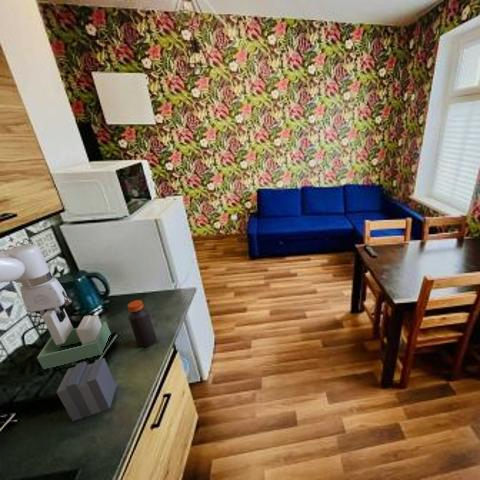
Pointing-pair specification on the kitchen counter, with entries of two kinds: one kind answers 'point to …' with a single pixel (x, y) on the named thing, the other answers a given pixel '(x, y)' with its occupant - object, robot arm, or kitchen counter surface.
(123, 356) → the kitchen counter surface
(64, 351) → the crate
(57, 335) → the white book
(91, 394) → the grey books
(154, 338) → the bottle
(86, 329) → the white books
